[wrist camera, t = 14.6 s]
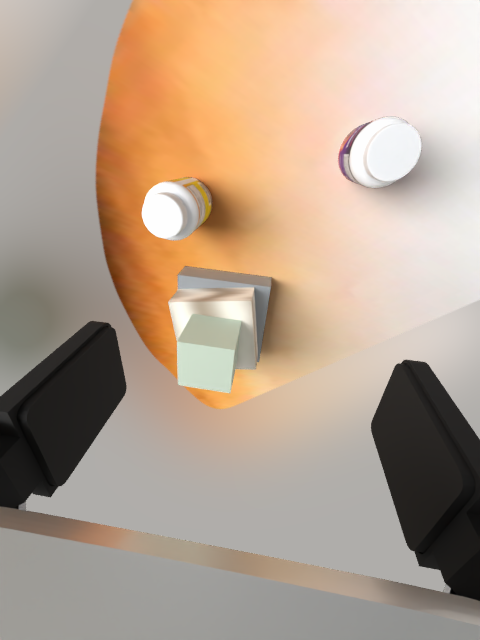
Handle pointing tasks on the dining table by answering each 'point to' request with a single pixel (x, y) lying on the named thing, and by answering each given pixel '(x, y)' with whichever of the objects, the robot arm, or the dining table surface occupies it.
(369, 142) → the pill bottle
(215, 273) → the base block
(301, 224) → the dining table surface
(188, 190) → the supplement bottle
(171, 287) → the dining table surface
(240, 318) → the top block
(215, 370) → the sage block
